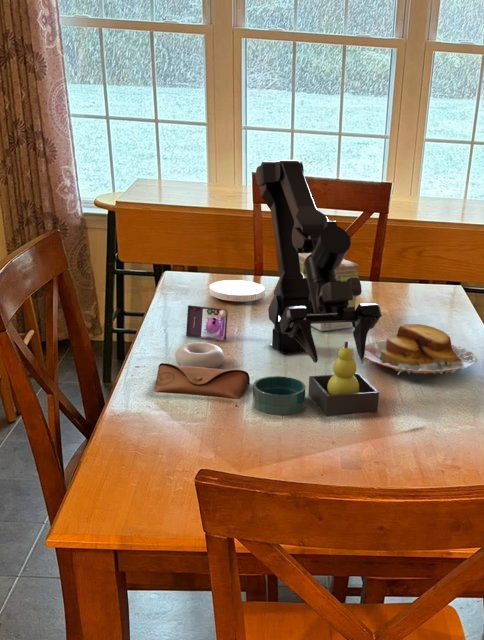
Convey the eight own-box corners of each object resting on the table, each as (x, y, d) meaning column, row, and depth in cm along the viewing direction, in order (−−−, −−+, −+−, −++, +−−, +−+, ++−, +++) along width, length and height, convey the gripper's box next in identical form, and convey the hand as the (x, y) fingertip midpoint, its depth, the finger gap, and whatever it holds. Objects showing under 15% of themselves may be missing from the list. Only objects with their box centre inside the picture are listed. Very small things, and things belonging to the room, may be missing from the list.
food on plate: (346, 374, 171) (348, 343, 167) (372, 339, 191) (375, 311, 188) (467, 393, 166) (472, 361, 163) (481, 355, 187) (486, 326, 183)
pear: (337, 395, 159) (341, 334, 153) (363, 403, 157) (369, 341, 150) (320, 404, 155) (323, 342, 148) (346, 413, 153) (351, 349, 146)
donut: (167, 369, 167) (215, 375, 165) (166, 352, 165) (214, 358, 163) (185, 353, 175) (230, 359, 173) (184, 337, 173) (230, 343, 172)
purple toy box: (187, 304, 181) (226, 309, 180) (193, 306, 186) (232, 311, 185) (185, 336, 183) (224, 340, 182) (191, 337, 188) (230, 341, 187)
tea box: (355, 327, 197) (360, 264, 189) (320, 332, 192) (323, 267, 184) (321, 310, 207) (324, 248, 199) (287, 314, 202) (289, 251, 194)
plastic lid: (275, 299, 212) (276, 289, 211) (235, 308, 203) (235, 298, 202) (239, 286, 220) (239, 277, 218) (198, 295, 211) (198, 285, 209)
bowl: (255, 397, 157) (255, 374, 155) (305, 400, 158) (306, 378, 155) (250, 417, 149) (250, 393, 147) (303, 420, 150) (304, 397, 147)
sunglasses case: (148, 393, 154) (150, 357, 153) (156, 399, 161) (159, 365, 160) (244, 401, 154) (247, 365, 154) (248, 406, 161) (251, 372, 161)
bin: (308, 399, 158) (309, 376, 156) (357, 395, 162) (358, 372, 159) (325, 420, 151) (327, 396, 148) (377, 415, 154) (379, 392, 151)
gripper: (286, 261, 146) (303, 343, 143) (382, 259, 152) (400, 338, 150) (272, 293, 156) (288, 370, 154) (363, 290, 162) (379, 364, 160)
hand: (339, 360), depth 154 cm, fingers open, 9 cm apart
